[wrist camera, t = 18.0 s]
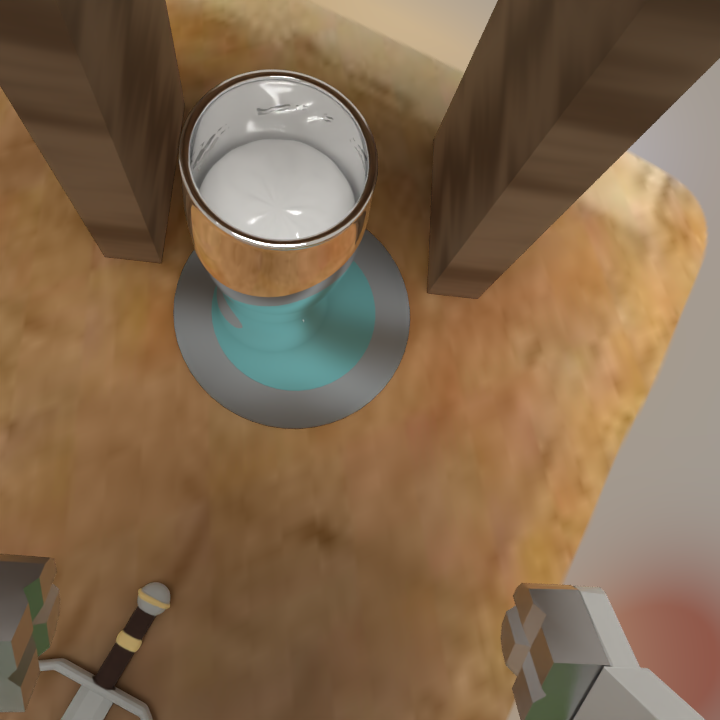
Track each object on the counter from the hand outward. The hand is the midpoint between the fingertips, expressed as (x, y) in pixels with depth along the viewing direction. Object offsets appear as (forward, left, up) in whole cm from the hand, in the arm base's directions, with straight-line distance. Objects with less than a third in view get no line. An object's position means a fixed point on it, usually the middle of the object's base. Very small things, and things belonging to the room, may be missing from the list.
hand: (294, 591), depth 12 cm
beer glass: (-10, +8, -22) cm, 26 cm away
